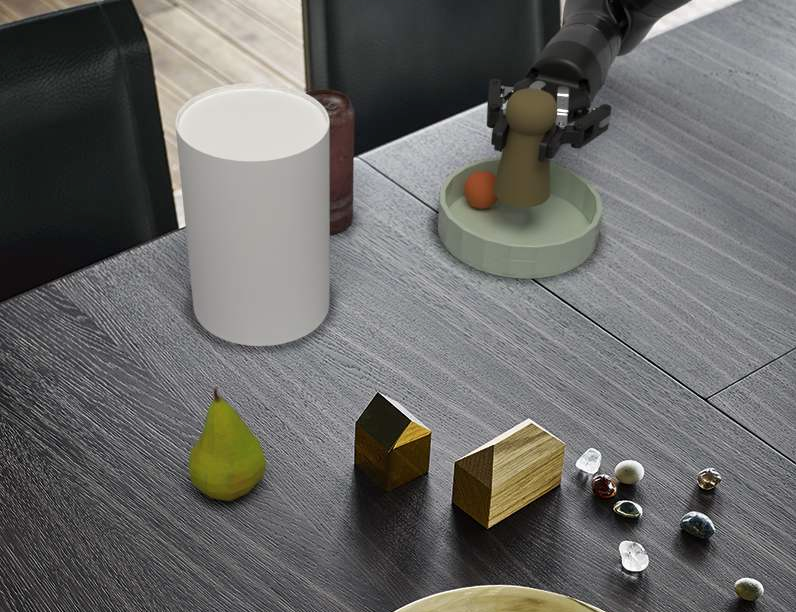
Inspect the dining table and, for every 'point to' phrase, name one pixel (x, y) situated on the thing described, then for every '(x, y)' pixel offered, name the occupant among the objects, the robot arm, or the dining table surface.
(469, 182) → the ball
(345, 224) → the can
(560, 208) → the bowl
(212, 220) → the canister
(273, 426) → the dining table surface
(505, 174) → the brown pawn
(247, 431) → the fruit
